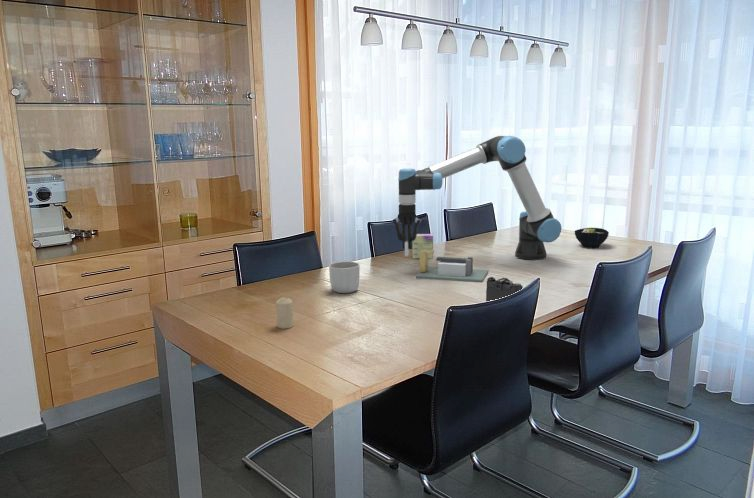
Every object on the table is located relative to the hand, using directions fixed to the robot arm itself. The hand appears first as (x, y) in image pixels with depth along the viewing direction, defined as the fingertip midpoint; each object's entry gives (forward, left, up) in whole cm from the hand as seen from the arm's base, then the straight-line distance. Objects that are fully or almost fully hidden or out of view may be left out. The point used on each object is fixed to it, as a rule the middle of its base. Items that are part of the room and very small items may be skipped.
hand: (407, 255), depth 265 cm
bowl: (-80, -77, -8) cm, 112 cm away
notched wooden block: (-9, 0, -7) cm, 11 cm away
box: (+1, -32, -8) cm, 33 cm away
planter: (+17, +35, -8) cm, 40 cm away
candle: (+20, +81, -8) cm, 84 cm away
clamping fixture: (-21, 0, -8) cm, 22 cm away
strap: (-21, 0, -2) cm, 21 cm away
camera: (-49, +36, -8) cm, 61 cm away
